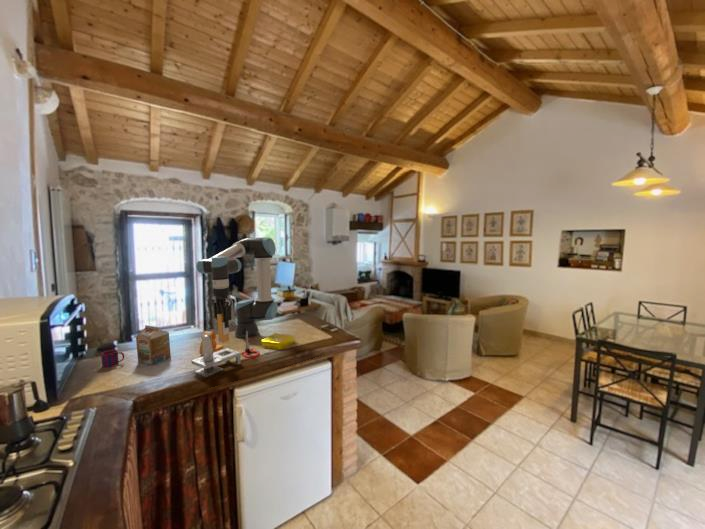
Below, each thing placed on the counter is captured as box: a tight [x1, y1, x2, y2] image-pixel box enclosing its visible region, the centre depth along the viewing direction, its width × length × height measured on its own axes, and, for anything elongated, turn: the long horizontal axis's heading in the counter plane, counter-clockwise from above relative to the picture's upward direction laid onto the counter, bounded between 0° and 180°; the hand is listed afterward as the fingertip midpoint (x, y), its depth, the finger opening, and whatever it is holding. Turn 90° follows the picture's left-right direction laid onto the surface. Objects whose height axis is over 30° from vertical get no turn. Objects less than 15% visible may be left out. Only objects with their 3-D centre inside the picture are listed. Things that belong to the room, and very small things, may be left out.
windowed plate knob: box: [191, 334, 242, 378], centre depth 150 cm, size 19×12×18 cm, turn 146°
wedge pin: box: [216, 313, 230, 343], centre depth 153 cm, size 4×4×14 cm
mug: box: [100, 349, 125, 369], centre depth 157 cm, size 7×10×7 cm
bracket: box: [199, 330, 224, 355], centre depth 172 cm, size 11×7×12 cm, turn 164°
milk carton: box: [135, 324, 172, 367], centre depth 161 cm, size 11×11×19 cm
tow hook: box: [241, 331, 260, 359], centre depth 167 cm, size 8×13×9 cm
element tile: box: [260, 332, 295, 350], centre depth 183 cm, size 15×15×5 cm
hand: (223, 333), depth 153 cm, fingers closed on wedge pin, 3 cm apart
